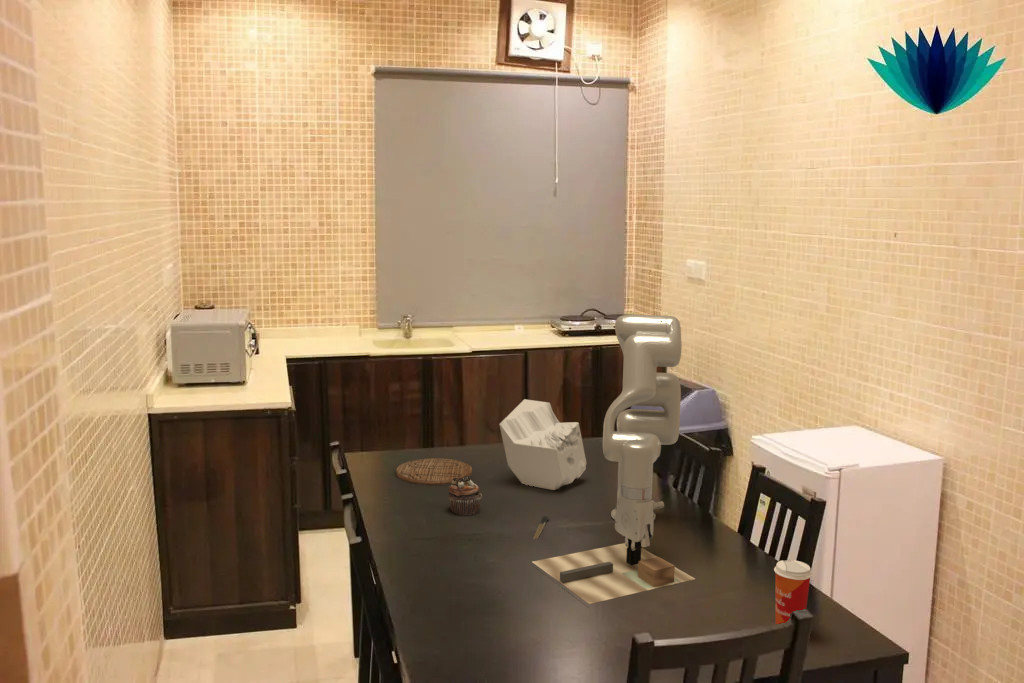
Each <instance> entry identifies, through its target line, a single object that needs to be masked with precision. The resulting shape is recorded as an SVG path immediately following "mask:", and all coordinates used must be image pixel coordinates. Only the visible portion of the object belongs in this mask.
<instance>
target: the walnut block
mask: <svg viewBox="0 0 1024 683" xmlns="http://www.w3.org/2000/svg"><path fill="white" fill-rule="evenodd" d="M675 567H676V566H675V565H674V564H673V563H670V562H669V561H667V560H665V559H664V558H662V557H660V556H657V557H655V558H651V559H646V560H642V561H639V565H638V577H639V578H640V579H642V580H643V581H645V582H647V583H648V584H650V585H651V586H653V587H655V586H659V585H663V584H667V583H672V582H674V572H675Z"/></svg>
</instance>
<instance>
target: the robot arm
mask: <svg viewBox="0 0 1024 683" xmlns="http://www.w3.org/2000/svg"><path fill="white" fill-rule="evenodd" d="M680 323H681V322H680V320H679V319H678V318H677V317H675V316H673V315H672V316H671V315H657V314H655V315H651V314H623V315H620V316H619V317H617V318H616V320H615V323H614V331H615V335H616V339H617V341H618V343H619V344H618V345H619V346H620V349H621V350H622V351H621V352H622V355H623V362H622V363H623V367H622V368H623V369H622V391H621V393H620V394H619V395H618V396H617V397H616V398H615V399H614V400H613V402H612V403H611V404H610V406H608V408H607V411H606V413H605V417H604V419H603V420H604V421H603V432H602V452H603V456H604V458H605V459H606V460H608V461H610V462H618V466H617V468H618V469H617V494H616V495H617V500H616V507H615V508H614V509H612V510H611V512H610V515H611V518H612V519H613V520H614V530H615V531H616V532H617V533H619V534H620V535H621V536H622V537H623V538H624V541H625V542H624V543H625V545H626V547H628V548H627V557H626V563H628V564H629V565H635V564H639V561H641V549H642V548H643V549H644V548H647V547H651V542H650V540H652V539H653V536H654V522H655V520H656V513H655V512H654V511H655V510H656V509H663V508H664V507H665V502H664V501H662V500H661V501H655V500H653V499H652V497H653V496H652V494H653V475H654V474H653V473H654V472H653V471H654V463H655V462H656V461H657V460H658V458H660V455H661V452H662V451H661V450H662V445H664V446H665V445H666V446H667V445H674V444H676V442H677V441H678V440H679V436H680V426H681V425H680V424H681V423H680V422H681V398H682V396H681V394H682V391H681V390H682V389H681V388H682V387H681V382H680V379H679V377H678V376H677V375H676V374H673V373H669V372H657V368H658V367H661V368H674V367H677V366H679V363H680V361H681V357H682V347H683V346H682V327H681V324H680ZM632 406H639V407H653V408H654V407H655V408H656V407H659V408H662V409H663V410H656V409H655V410H654V409H639V408H637V409H636V408H632V409H631V408H630V407H632ZM628 408H630V409H628ZM615 424H616V430H615Z"/></svg>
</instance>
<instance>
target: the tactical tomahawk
mask: <svg viewBox="0 0 1024 683" xmlns="http://www.w3.org/2000/svg"><path fill="white" fill-rule="evenodd" d="M548 520H549V517H548V515H543V516H542V517H541V520H540V521H539V522H540V523H539V524H538V527H537V529H536V531H535V533H534V536H533V537H532V540H535V539H539V538H540V536H541V534H542V532H543V531H544V528H545V527H546V524H547V522H548Z"/></svg>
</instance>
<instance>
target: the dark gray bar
mask: <svg viewBox="0 0 1024 683" xmlns="http://www.w3.org/2000/svg"><path fill="white" fill-rule="evenodd" d="M609 572H613V563H611V562H605V563H601V564H596V565H591V566H586V567H582V568H577V569H572V570H568V571H563V572H560V581H562V582H563V583H564V582H568V581H573V580H577V579H582V578H587V577H591V576H596V575H600V574H605V573H609Z"/></svg>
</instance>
